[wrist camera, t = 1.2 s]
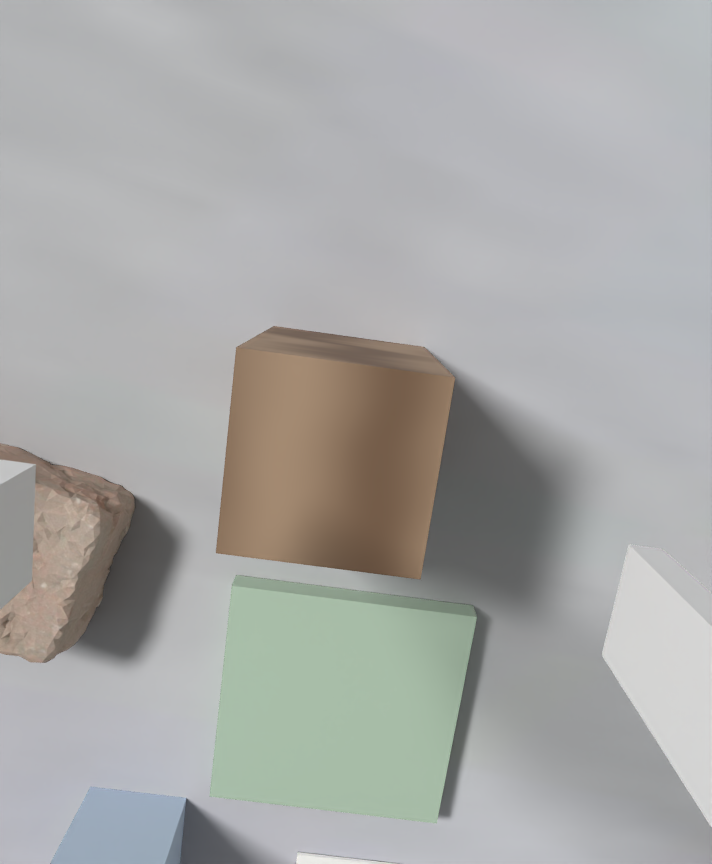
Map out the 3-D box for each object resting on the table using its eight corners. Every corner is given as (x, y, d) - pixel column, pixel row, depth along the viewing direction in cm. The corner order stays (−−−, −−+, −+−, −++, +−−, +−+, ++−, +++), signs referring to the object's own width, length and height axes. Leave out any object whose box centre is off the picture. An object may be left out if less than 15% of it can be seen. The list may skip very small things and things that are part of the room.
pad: (214, 779, 36) (209, 796, 35) (236, 575, 34) (231, 585, 32) (434, 806, 37) (436, 823, 35) (472, 605, 34) (477, 617, 33)
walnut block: (258, 471, 33) (216, 553, 23) (274, 326, 31) (236, 347, 21) (401, 490, 33) (420, 579, 23) (424, 346, 31) (455, 377, 21)
